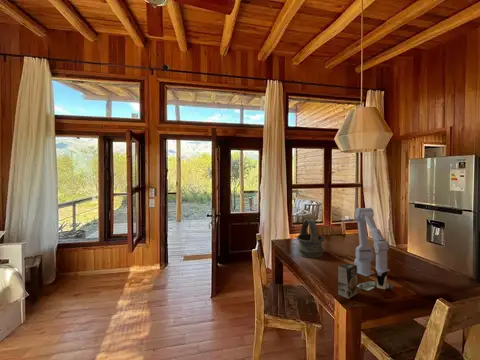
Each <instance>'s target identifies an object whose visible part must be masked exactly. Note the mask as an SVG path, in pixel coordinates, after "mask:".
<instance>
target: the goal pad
mask: <svg viewBox="0 0 480 360" xmlns="http://www.w3.org/2000/svg"><path fill="white" fill-rule="evenodd" d="M363 283H364V282H362V283H361V284H363ZM375 287H376V286H367V287H364V288H363V290H365V291H367V292H368V291H371V290H372V289H375ZM357 288H359V284H357Z"/></svg>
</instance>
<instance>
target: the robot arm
mask: <svg viewBox="0 0 480 360" xmlns="http://www.w3.org/2000/svg"><path fill="white" fill-rule="evenodd" d="M374 212H375V211H374V209H373V208H372V207H356V208H355V210H354V219H355V220H356V221H357V231H358V240H359V241H358V242H359V245H358V246H357V247H355V253H354V255H355V259H354V261H353V262H354V263H353V265H357V275H358V274H359V275H361V276H363V277H369V276H371V275H375V277H376V281H377V280H378V284H379V285H380V286H383V284H384V279H385V277H386V276H387V274H388V272H390V269H389V268H388V251H389V250H390V242H389V241H388V240H386V239H385V238H384V236H383V234H382V231H381V230H380V228H379V229H378V227H377V225H376V222H375V219H374V215H375V213H374ZM367 226H368V227H369V229H370V232H369V234H370V236H371V239H372V240H373V248H374V251H373V249H372V247H371V246H369V242H368V232H367ZM374 253H375V256H374ZM374 257H375V270H376V272H372V271H371V262H372V260H374Z"/></svg>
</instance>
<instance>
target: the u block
mask: <svg viewBox="0 0 480 360" xmlns="http://www.w3.org/2000/svg"><path fill="white" fill-rule="evenodd" d="M387 278H388V276H387V275H386V277H385V279H384V284H383V286H380V285H379V284H378V280H377V279H376V281H377V286H376V288H378V289H380V290H381V289H382V290H386V289H387V288H386V284H388V283H387V280H388V279H387Z"/></svg>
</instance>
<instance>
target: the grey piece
mask: <svg viewBox="0 0 480 360" xmlns="http://www.w3.org/2000/svg"><path fill="white" fill-rule="evenodd" d="M362 283H363V284H362ZM362 283H360V282H359V283H358V285H359V287H358V289H359V290H360V291H362V290H364V289H363V288H364V287H367V286H372V287H377V280H376V281H374V280H373V281H372V280H370V281H365V282H362ZM386 289H389V290H390V291H394V284H393V283H387V284H386Z"/></svg>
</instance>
